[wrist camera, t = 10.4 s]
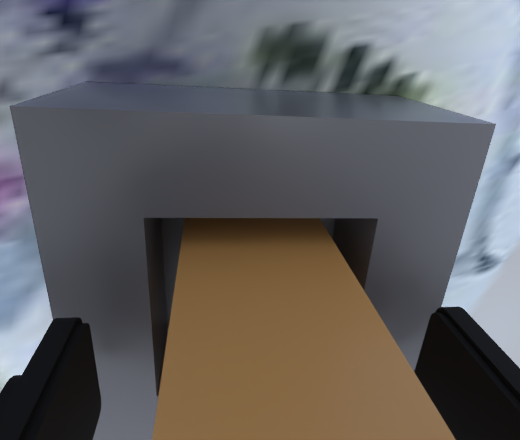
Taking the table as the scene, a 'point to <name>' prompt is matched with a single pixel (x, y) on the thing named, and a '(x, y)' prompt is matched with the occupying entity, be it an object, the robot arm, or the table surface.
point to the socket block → (234, 204)
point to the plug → (281, 343)
